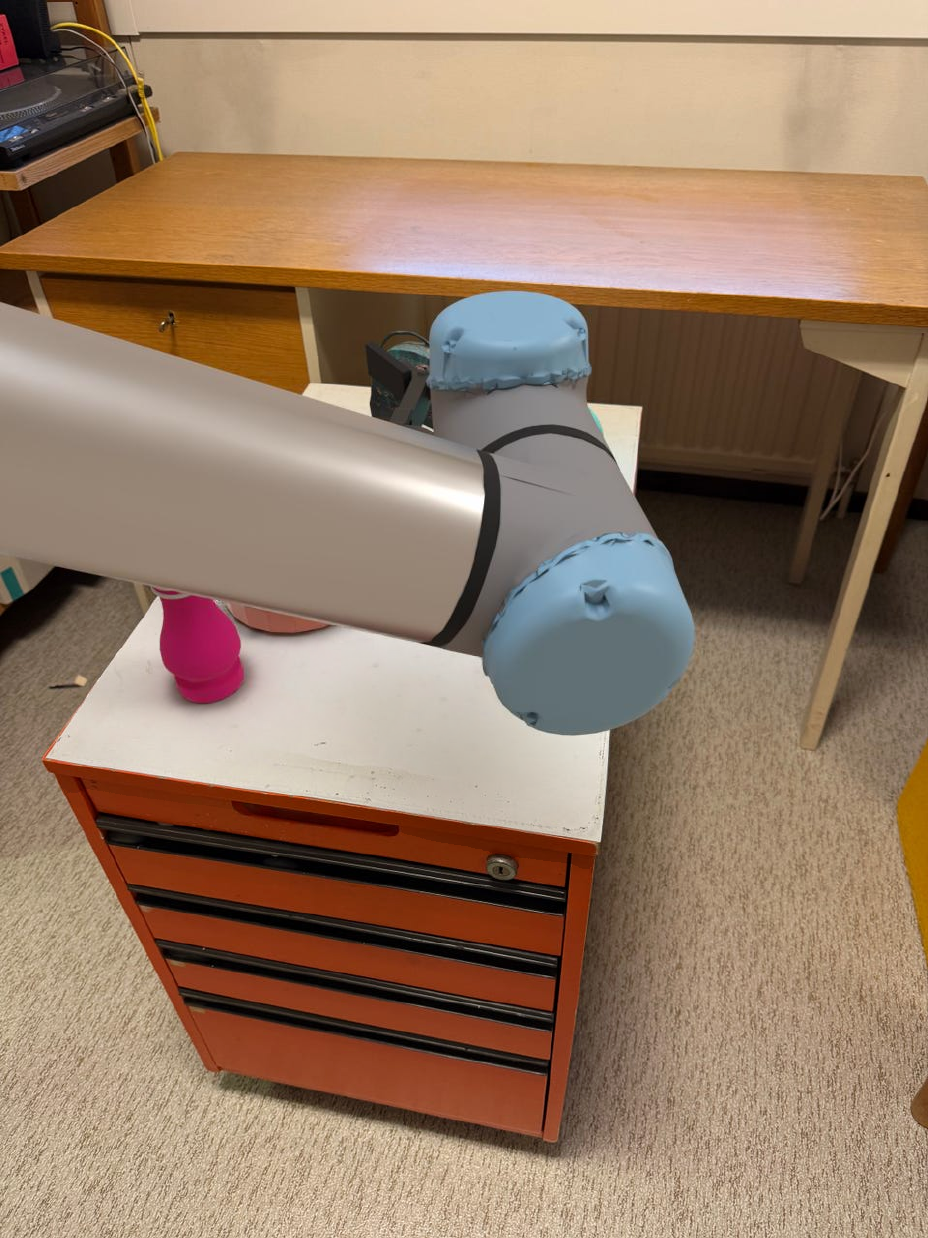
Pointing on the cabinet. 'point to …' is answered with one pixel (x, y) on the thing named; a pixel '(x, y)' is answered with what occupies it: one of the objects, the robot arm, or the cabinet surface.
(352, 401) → the cabinet surface
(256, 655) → the cabinet surface
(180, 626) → the pepper mill
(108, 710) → the cabinet surface
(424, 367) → the ceramic cat
